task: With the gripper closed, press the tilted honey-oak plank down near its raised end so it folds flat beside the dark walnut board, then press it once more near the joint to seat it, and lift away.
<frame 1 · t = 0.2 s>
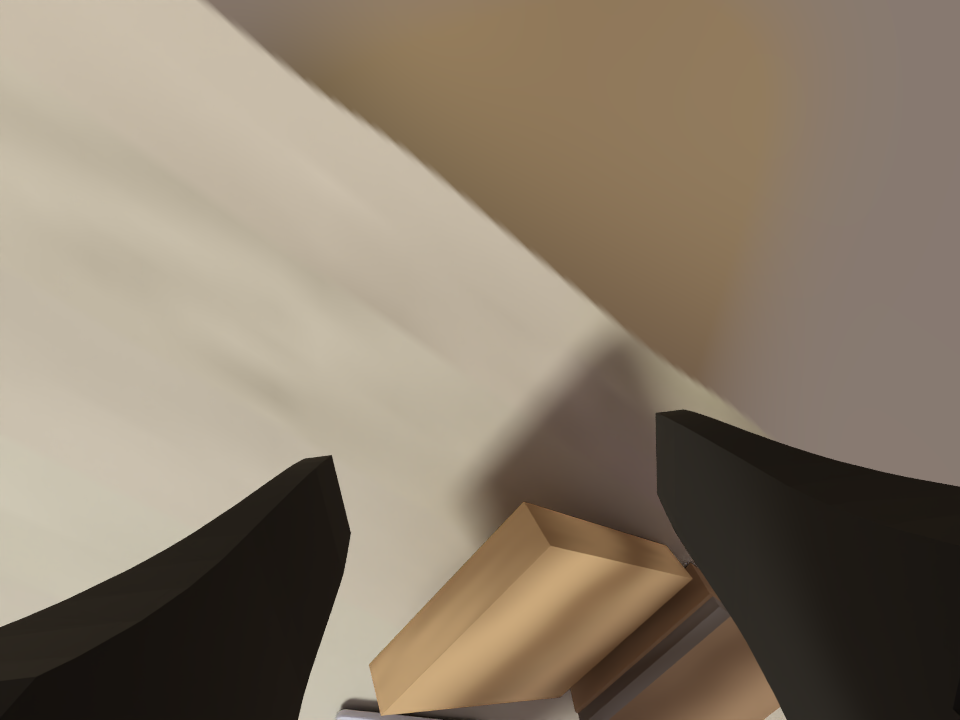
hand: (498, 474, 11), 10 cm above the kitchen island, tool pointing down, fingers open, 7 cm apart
walnut board: (681, 657, 26), on the kitchen island
oak plank: (545, 617, 21), point 3 cm above the kitchen island, hinge at 28.0°
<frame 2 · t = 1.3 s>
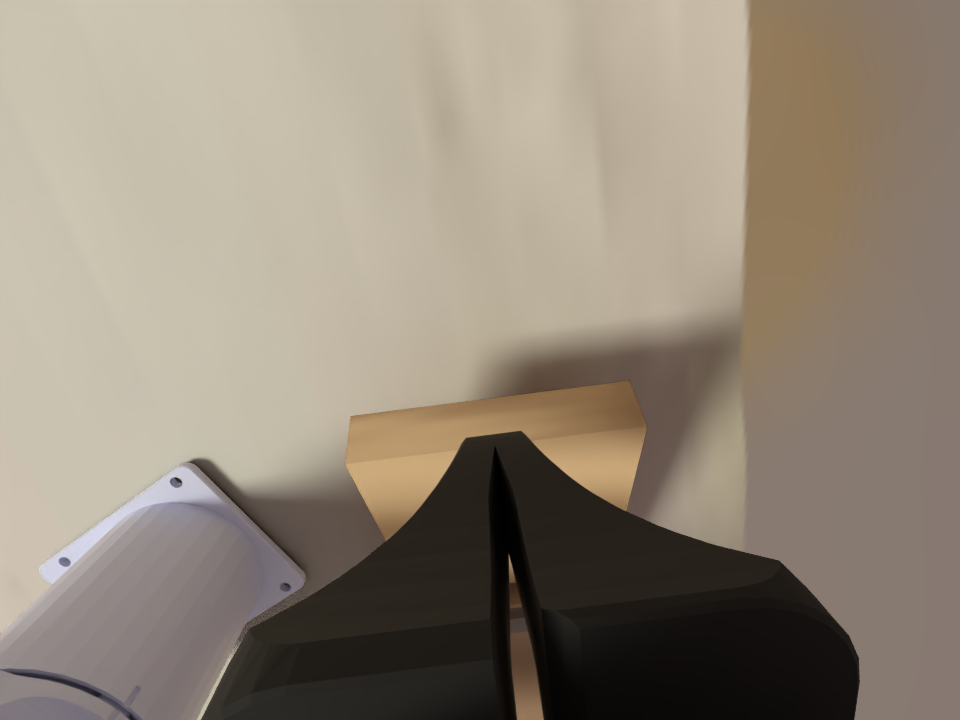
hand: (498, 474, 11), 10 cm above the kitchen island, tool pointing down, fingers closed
walnut board: (519, 635, 26), on the kitchen island
oak plank: (503, 506, 19), point 3 cm above the kitchen island, hinge at 28.0°
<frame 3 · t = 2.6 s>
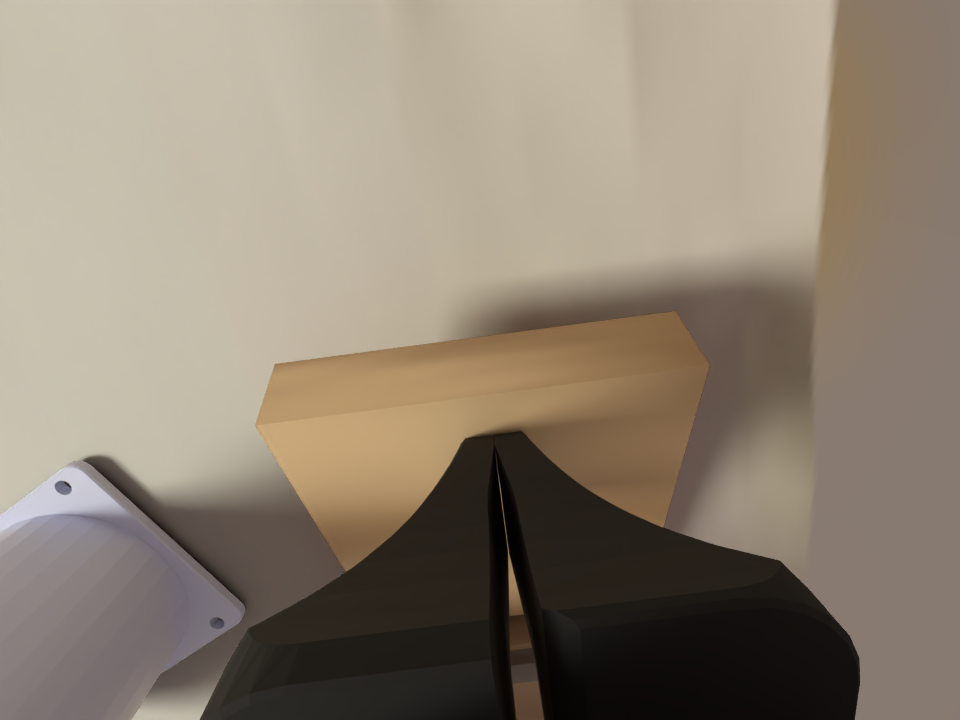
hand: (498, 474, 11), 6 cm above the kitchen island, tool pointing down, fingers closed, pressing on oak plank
walnut board: (521, 679, 20), on the kitchen island
oak plank: (498, 506, 14), point 3 cm above the kitchen island, hinge at 24.4°, touching gripper
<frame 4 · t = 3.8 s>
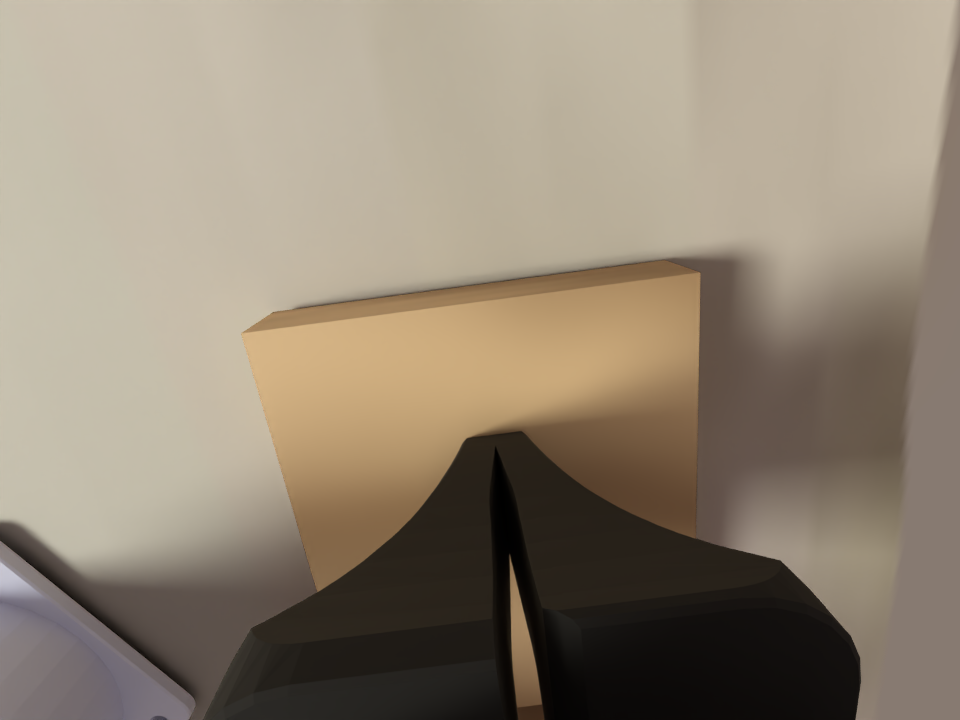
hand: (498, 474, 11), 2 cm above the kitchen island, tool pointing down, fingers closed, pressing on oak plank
oak plank: (498, 512, 12), point 1 cm above the kitchen island, hinge at 1.1°, touching gripper
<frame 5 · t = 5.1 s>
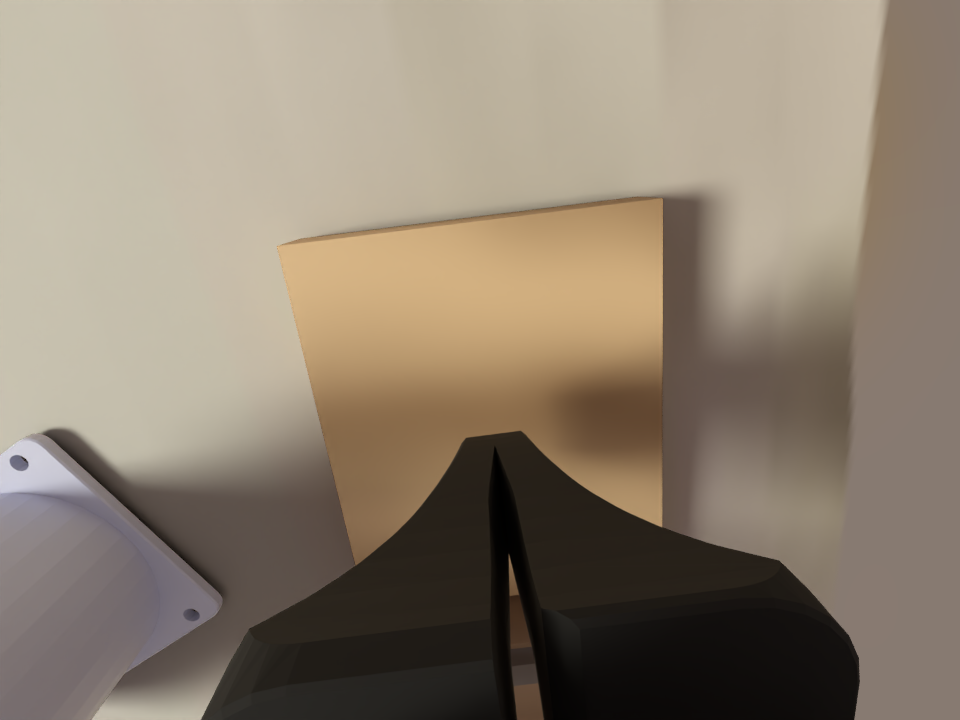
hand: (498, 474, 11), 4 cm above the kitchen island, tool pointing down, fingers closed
walnut board: (524, 680, 19), on the kitchen island
oak plank: (492, 419, 14), point 1 cm above the kitchen island, hinge at 1.1°
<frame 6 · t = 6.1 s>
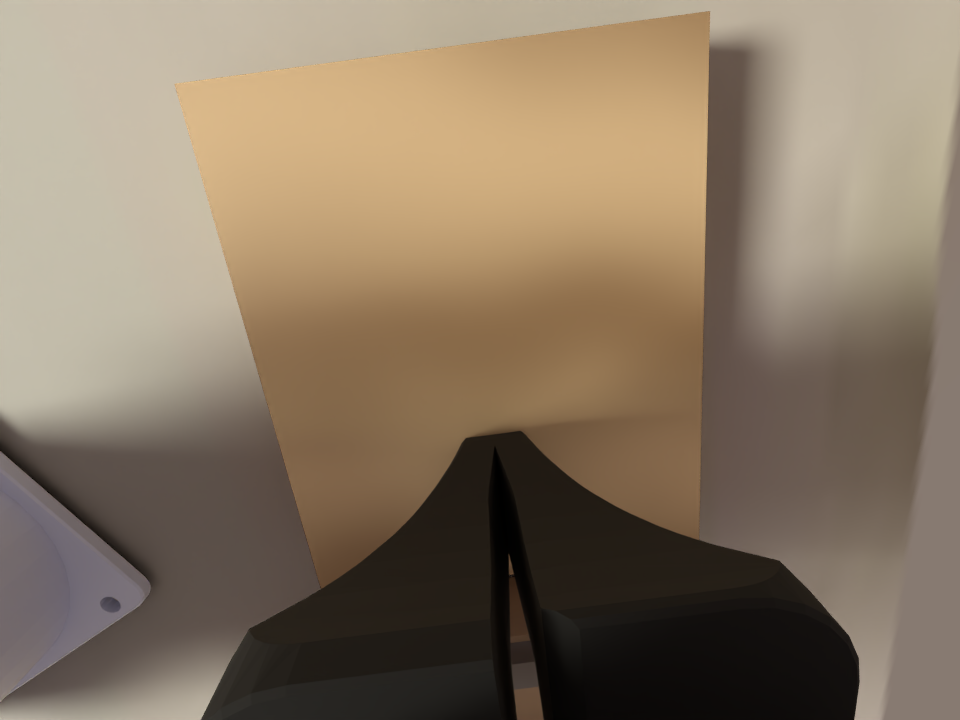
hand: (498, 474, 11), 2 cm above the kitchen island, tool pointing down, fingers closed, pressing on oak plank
walnut board: (525, 682, 16), on the kitchen island
oak plank: (480, 344, 11), point 1 cm above the kitchen island, hinge at 1.1°, touching gripper
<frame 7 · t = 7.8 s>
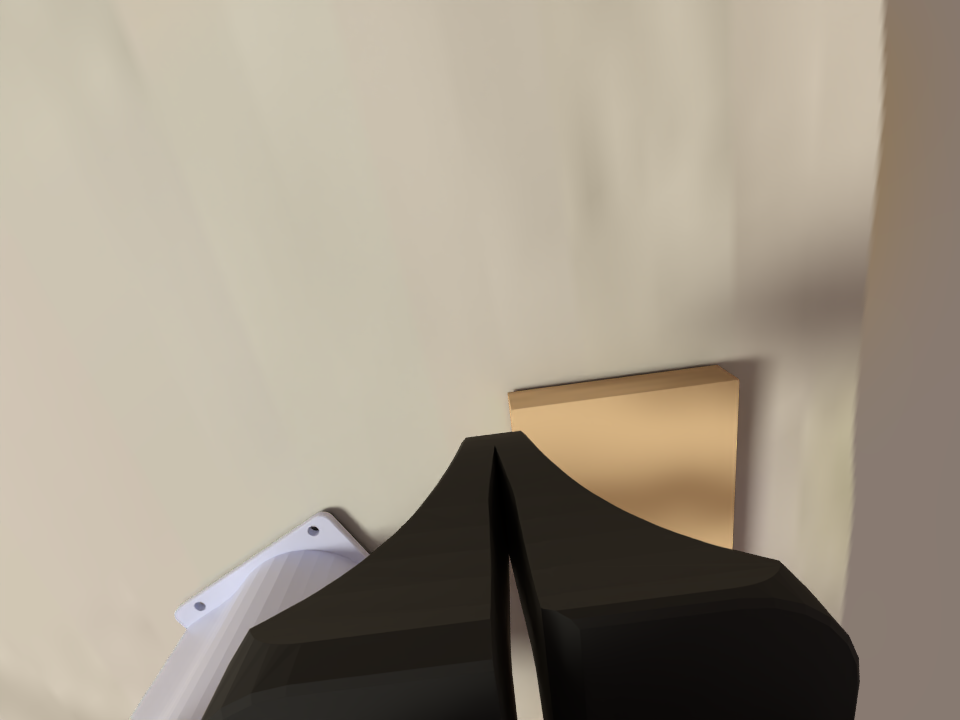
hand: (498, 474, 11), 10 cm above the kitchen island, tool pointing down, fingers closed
oak plank: (623, 500, 22), point 1 cm above the kitchen island, hinge at 0.9°
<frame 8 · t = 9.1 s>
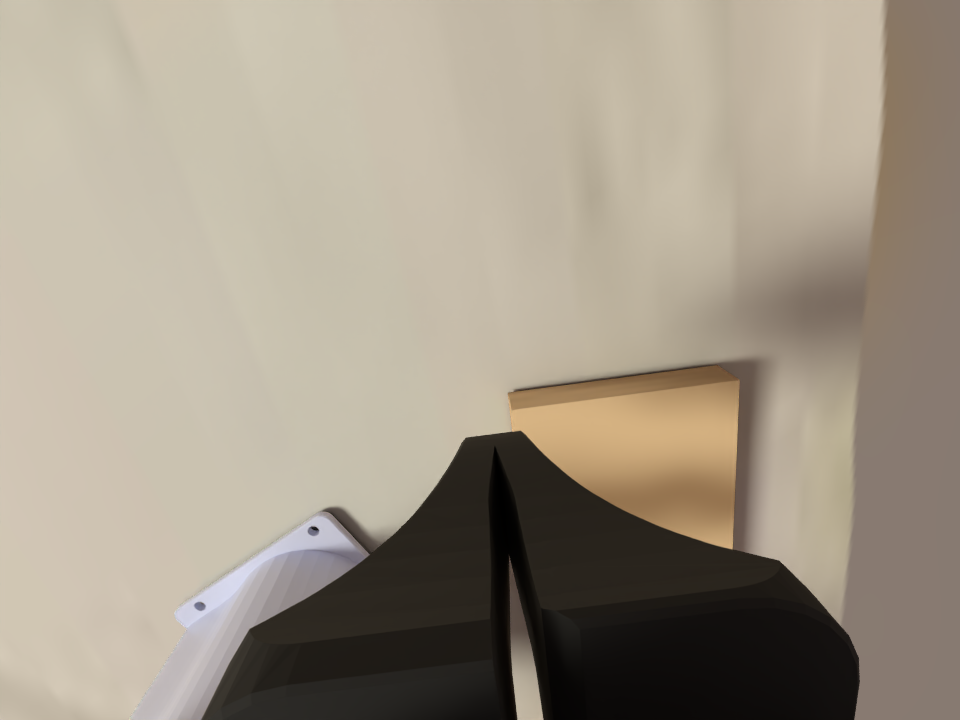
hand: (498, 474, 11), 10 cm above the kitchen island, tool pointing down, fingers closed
oak plank: (623, 500, 22), point 1 cm above the kitchen island, hinge at 0.9°
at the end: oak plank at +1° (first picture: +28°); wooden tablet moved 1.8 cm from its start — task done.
